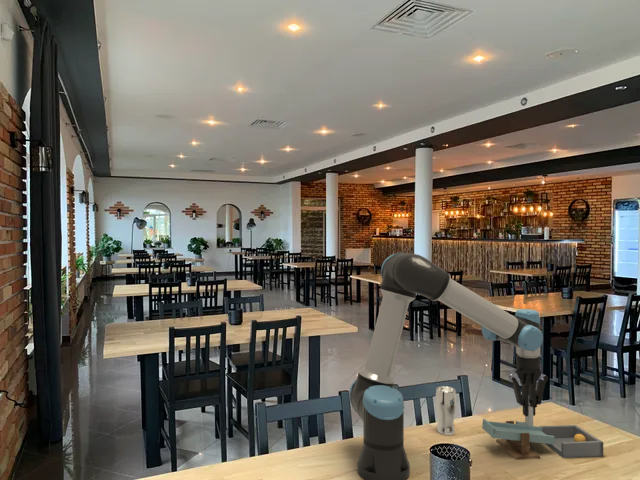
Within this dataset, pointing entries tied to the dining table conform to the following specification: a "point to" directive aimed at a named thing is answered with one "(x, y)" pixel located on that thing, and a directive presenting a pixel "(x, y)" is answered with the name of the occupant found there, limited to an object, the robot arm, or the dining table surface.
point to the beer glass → (445, 409)
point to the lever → (516, 431)
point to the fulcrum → (518, 447)
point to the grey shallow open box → (573, 442)
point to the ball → (579, 438)
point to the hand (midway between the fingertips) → (529, 425)
